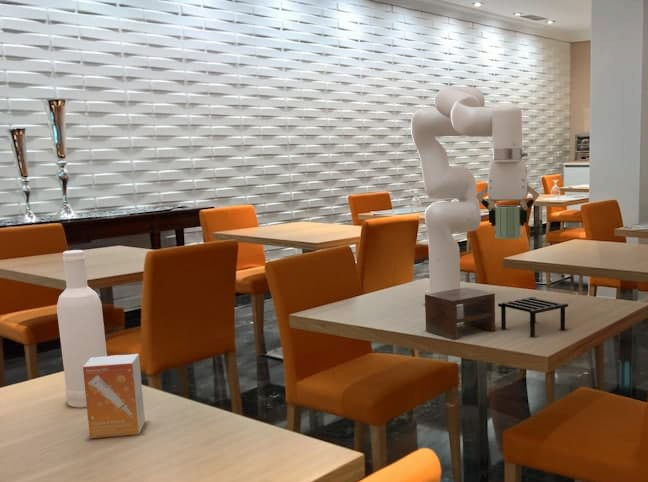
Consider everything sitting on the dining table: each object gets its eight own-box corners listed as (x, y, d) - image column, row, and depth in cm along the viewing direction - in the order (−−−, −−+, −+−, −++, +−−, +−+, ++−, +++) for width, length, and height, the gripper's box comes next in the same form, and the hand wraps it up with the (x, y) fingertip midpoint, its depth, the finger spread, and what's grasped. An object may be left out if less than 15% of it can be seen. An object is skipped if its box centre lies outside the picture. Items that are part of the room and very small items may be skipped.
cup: (489, 237, 195) (489, 206, 194) (509, 235, 199) (508, 205, 198) (506, 239, 190) (506, 208, 188) (526, 237, 194) (526, 206, 192)
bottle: (67, 410, 143) (49, 255, 138) (67, 399, 150) (49, 250, 145) (113, 403, 147) (97, 251, 142) (110, 392, 154) (95, 247, 149)
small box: (89, 439, 128) (81, 366, 126) (98, 426, 134) (90, 356, 132) (140, 434, 130) (132, 362, 128) (146, 422, 136) (139, 352, 134)
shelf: (425, 331, 199) (424, 294, 198) (466, 322, 208) (466, 287, 206) (453, 339, 190) (452, 300, 188) (495, 330, 199) (494, 293, 197)
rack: (498, 329, 200) (497, 303, 199) (533, 321, 208) (533, 296, 206) (532, 338, 190) (532, 311, 188) (568, 329, 198) (568, 303, 196)
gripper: (542, 155, 193) (542, 223, 196) (474, 156, 196) (476, 224, 199) (541, 155, 186) (541, 226, 189) (471, 156, 188) (473, 227, 191)
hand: (508, 225), depth 194 cm, fingers closed on cup, 7 cm apart
